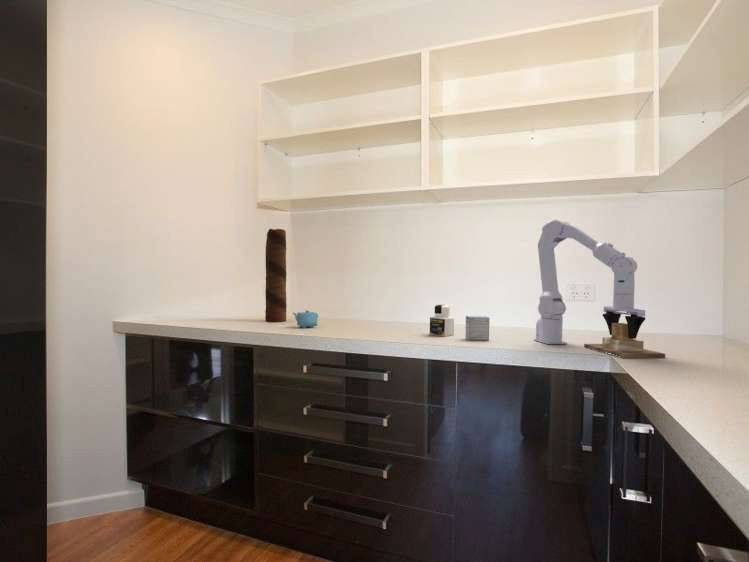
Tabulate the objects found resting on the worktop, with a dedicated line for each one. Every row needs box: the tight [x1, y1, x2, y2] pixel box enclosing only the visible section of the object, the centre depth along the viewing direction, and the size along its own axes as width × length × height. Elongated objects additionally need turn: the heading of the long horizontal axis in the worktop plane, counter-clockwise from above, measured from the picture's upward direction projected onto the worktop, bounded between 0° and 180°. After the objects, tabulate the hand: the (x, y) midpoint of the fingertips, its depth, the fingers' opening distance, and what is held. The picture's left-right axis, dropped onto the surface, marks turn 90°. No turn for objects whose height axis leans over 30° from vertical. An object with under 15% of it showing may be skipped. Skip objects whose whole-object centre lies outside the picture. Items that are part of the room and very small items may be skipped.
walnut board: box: [583, 336, 666, 359], centre depth 130 cm, size 18×14×4 cm
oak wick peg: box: [611, 322, 632, 341], centre depth 130 cm, size 4×4×8 cm
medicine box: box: [465, 315, 490, 341], centre depth 152 cm, size 8×4×9 cm, turn 92°
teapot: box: [292, 310, 319, 329], centre depth 178 cm, size 12×6×8 cm, turn 118°
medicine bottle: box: [429, 304, 455, 338], centre depth 163 cm, size 7×7×12 cm
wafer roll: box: [264, 228, 287, 323], centre depth 199 cm, size 10×11×45 cm
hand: (622, 336), depth 130 cm, fingers open, 7 cm apart
